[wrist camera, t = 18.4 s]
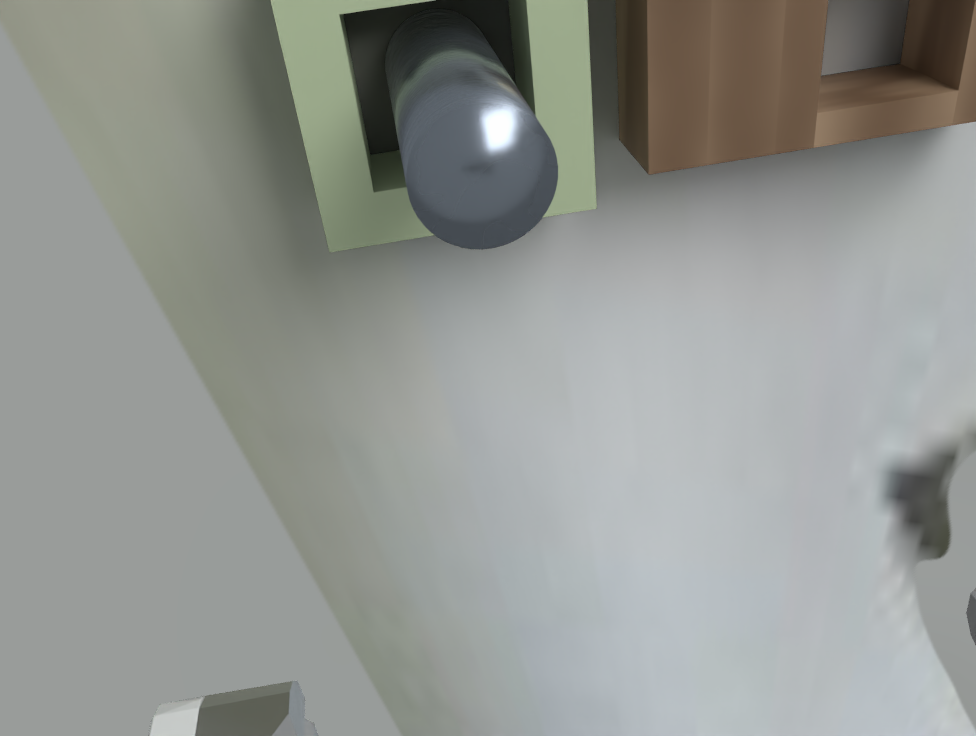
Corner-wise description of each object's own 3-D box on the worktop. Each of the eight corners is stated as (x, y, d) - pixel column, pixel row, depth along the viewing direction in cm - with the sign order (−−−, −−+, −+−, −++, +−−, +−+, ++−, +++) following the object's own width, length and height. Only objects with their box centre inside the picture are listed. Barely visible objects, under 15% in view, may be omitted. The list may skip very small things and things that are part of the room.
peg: (485, 1, 32) (552, 90, 22) (496, 109, 34) (562, 236, 24) (376, 17, 32) (394, 115, 22) (394, 125, 34) (419, 260, 24)
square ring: (556, -104, 30) (583, -92, 27) (572, 171, 36) (596, 208, 32) (268, -63, 30) (259, -46, 26) (330, 210, 35) (329, 252, 32)
